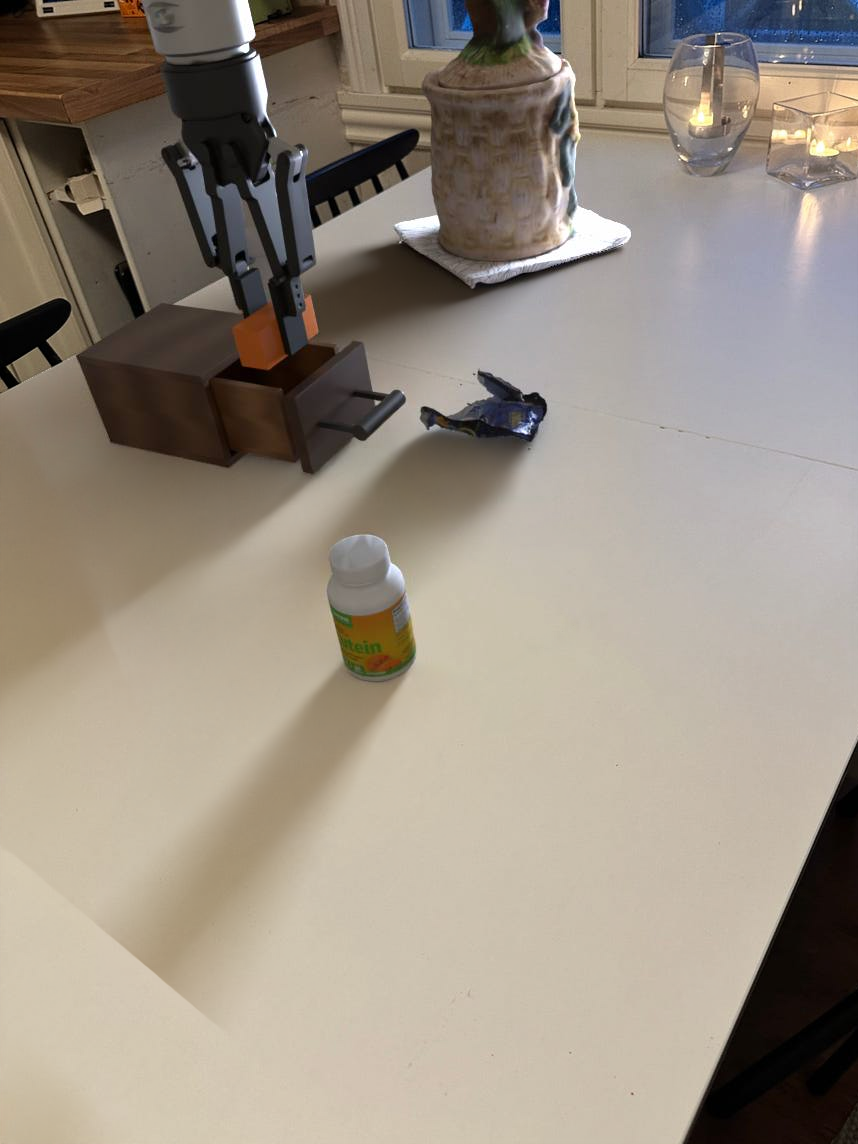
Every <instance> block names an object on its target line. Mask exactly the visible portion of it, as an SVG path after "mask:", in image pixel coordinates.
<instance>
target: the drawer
mask: <svg viewBox="0 0 858 1144" xmlns="http://www.w3.org/2000/svg"><path fill="white" fill-rule="evenodd" d="M308 341H309V343H307V344H306V345H305V346H303V347H302V348H301V349H300V350H298V351H297V352H296V353H294V354H293V355H288V356H287V357H285V358H284V359H283V360H281V361H280V362H279V363H277V364H276V365H275V366H273V367H272V368H271V369H269V370H264V369H258V368H251V367H245V366H242V364H241V360H240V358H239V359H238V360H236V361H235V362H234V363H232V364H231V365H229V366H228V367H227V368H225V369H224V370H222V371H221V372H220V373H218V374H217V375H215V376H214V377H213V378H211V379H210V380H209V381H208V383H209V386H210V389H211V393H212V396H213V399H214V402H215V406H216V409H217V412H218V415H219V419H220V422H221V425H222V428H223V432H224V435H225V438H226V442H227V445H228V448H229V450H233V451H238V452H243V453H246V454H248V455H253V456H258V457H262V458H268V459H272V460H277V461H282V462H288V463H292V464H296V463H297V462H298V461H299V463H300V466H301V471H302V473H304V474H309V475H315V474H316V473H317V472H318V471H319V470H320V469H321V468H322V467H324V465H326V463H328V462H329V461H330V460H331V459H332V458H333V457H334V456H336V454H338V453H339V452H340V451H341V450H342V449H343V448H344V447H345V446H347V444H349V442H351V441H352V439H354V438H355V439H356V440H357V441H360V442H365V441H367V440H368V439H369V438H370V437H371V436H372V435H373V434H374V433H375V432H376V431H378V429H380V427H381V426H383V425H384V424H385V423H386V422H387V421H388V420H389V419H391V417H392V416H393V415H394V414H396V413H397V412H398V411H399V410H400V409H401V407H403V406H404V405H405V404H406V402H407V397H406V395H405V393H404V392H403V391H402V390H400V389H393V390H392V391H391V392H389V393H385V392H379V391H373V384H372V379H371V373H370V368H369V364H368V359H367V353H366V347H365V343H364V341H359V340H352V341H351V342H349V344H347V345H346V346H345V347H344V348H342V349H341V350H340V346H339V344H338V343H333V342H325V341H319V340H318V341H317V340H312V339H309V340H308ZM375 401H378V402H379V403H377V404H376V402H375Z"/></svg>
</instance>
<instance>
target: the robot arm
mask: <svg viewBox="0 0 858 1144" xmlns="http://www.w3.org/2000/svg"><path fill="white" fill-rule="evenodd" d="M140 1H141V4H142V7H143V11H144V15H145V18H146V22H147V26H148V29H149V32H150V35H151V36H150V37H151V40H152V43H153V46H154V50H155V52H156V53H157V54H159V55H161V56H162V57H165V60H163V61H162V62H161V66H160V68H159V71H160V73H161V77H162V81H163V85H164V87H165V92H166V95H167V99H168V103H169V106H170V110H171V112H172V114H173V115H174V116H175V117H177V118H178V119H181V129H180V134H181V138H180V139H178V140H177V141H175V142H173V143H171V144H168V145H167V146H164V147H162V148H161V150H160V155H161V158H162V160H163V161H164V163H165V164H166V166H167V168H168V169H169V171H170V173H171V174H172V176H173V178H174V179H175V183H176V185H177V189H178V191H179V195H180V196H181V200H182V202H183V206H184V208H185V210H186V211H185V212H186V214H187V216H188V219H189V222H190V225H191V228H192V230H193V233H194V236H195V239H196V242H197V245H198V248H199V250H200V252H201V256H202V259H203V261H204V264H205V265H206V266H207V267H208V268H209V269H213V268H217V269H219V270H221V271H222V273H223V274H224V275H225V277H227V278H228V282H229V285H230V288H231V289H230V290H231V292H232V297H233V301H234V303H235V306H236V308H237V309H238V311H242V314H243V316H244V319H246V318H247V317H249V316H250V315H252V314H253V313H255V312H256V311H258V310H259V309H261V308H262V307H264V306H265V305H267V304H268V302H267V298H266V294H265V290H264V286H263V282H262V278H261V274H260V270H259V268H251V269H249V266H250V265H251V264H253V263H254V262H255V258H253V259H252V258H251V257H249V252H248V244H247V237H246V230H245V229H246V223H245V215H244V210H243V202H242V200H243V201H245V203H246V205H247V207H248V209H249V213H250V215H251V218H252V221H253V224H254V226H256V229H257V232H258V235H259V238H260V240H261V243H262V246H263V249H264V251H265V254H266V257H267V260H268V263H269V265H270V268H271V271H272V274H273V277H272V278H270V279H269V282H268V287H269V291H270V296H271V300H272V304H273V308H274V312H275V316H276V320H277V323H278V327H279V331H280V335H281V339H282V343H283V347H284V351H285V354H286V355H293V354H294V353H296V352H297V351H298V350H300V349H301V348H302V347H303V346H305V345H306V344H307V343H309V341H308V337H307V333H306V328H305V324H304V319H303V315H302V313H303V312H304V311H305V309H306V304H305V299H304V295H305V294H304V291H303V285H302V282H301V275H303V274H305V273H306V272H307V271H309V270H311V269H312V268H313V267H315V266H316V265H317V254H316V247H315V241H314V233H313V227H312V226H313V225H312V220H311V213H310V212H311V211H310V204H309V198H308V190H307V182H306V176H305V175H306V169H307V163H308V158H309V157H308V156H309V154H308V153H309V151H308V149H307V147H306V146H305V145H304V143H297V144H295V145H293V146H292V145H291V144H289V143H287V142H286V141H284V140H282V139H281V138H279V137H277V132H276V129H275V127H274V125H273V124H272V123H271V120H270V119H269V117H268V114H267V102H268V97H269V95H268V88H267V84H266V79H265V76H264V71H263V67H262V61H261V57H260V52H259V51H257V50H256V48H255V47H253V46H250V43H251V42H252V41H253V40H254V39H255V37H256V32H255V27H254V23H253V18H252V14H251V10H250V5H249V0H140ZM271 161H272V163H271ZM303 294H304V295H303Z"/></svg>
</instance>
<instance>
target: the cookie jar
mask: <svg viewBox="0 0 858 1144" xmlns="http://www.w3.org/2000/svg"><path fill="white" fill-rule="evenodd" d="M549 3H550V0H465V1H464V3H463V6H464V8H465V10H466V12H467V14H468V19H469V21H470V25H471V29H472V37H471V39H470V40H469V41H468V42H467V43H466V44H465V46H464V47H463V48H462V50H461V51H460V52H459V53H458V55H457V56H456V57H455V58H452V59H451V60H450V61H449V62H448V63H447V64H444V65H443V66H441V67H438V68H435V69H433V70H431V71H428V72H427V73H426V74H425V76H424V77H423V80H422V81H421V90H422V93H423V95H424V97H425V98H426V99H427V101H428V103H429V107H430V122H431V125H430V128H431V129H430V138H429V139H430V149H429V150H430V151H429V153H430V154H429V155H430V157H429V158H430V169H431V179H430V182H431V183H430V184H431V193H432V194H431V195H432V199H433V204H434V207H435V210H436V215H432V216H427V217H420V218H417V219H411V220H408V221H407V220H406V221H405V220H404V221H400V222H398V223H395V224H393V230H394V231H395V233H396V234H397V236H398V237H399V242H400V241H401V239H402V240H403V241H404V242H403V243H406V245H408V246H410V247H411V248H413V249H414V250H415V251H417V252H418V253H419V254H422V255H424V256H425V257H427V258H428V259H430V260H432V261H434V262H435V263H437V264H438V265H440V266H441V267H442V268H444V269H445V270H447V271H449V272H450V273H452V274H453V275H455V276H456V277H457V278H459V279H460V280H462V281H463V282H464V283H465V284H466V285H467V284H468V285H469V286H471V287H473V288H472V289H475V288H476V284H477V283H484V284H497V283H501V282H504V281H507V280H509V279H511V278H513V277H515V276H518V275H520V274H523V273H533V272H538V271H542V270H545V269H548V268H552V267H554V265H555V266H558V265H561V263H562V264H564V262H565V263H568V262H571V261H575V260H578V259H581V258H584V257H583V256H585V257H587V256H586V255H588V256H590V255H589V254H592V255H594V254H593V253H596V254H599V253H602V252H601V251H603V252H606V251H605V250H607V251H609V250H608V249H610V248H613V247H615V246H618V245H621V244H623V245H625V244H626V243H627V242H629V240H630V238H631V230H630V229H629V228H627V226H626V225H624V224H621V223H620V222H614V221H612V220H611V219H606V218H604V217H602V216H599V214H598V213H595V212H593V211H592V210H587V209H585V208H583V207H580V206H579V203H578V198H577V194H576V188H575V183H574V181H575V177H576V158H577V145H578V142H579V141H580V139H581V133H580V131H579V125H580V122H579V115H578V114H579V112H578V110H577V109H576V103H575V84H576V75H575V73H574V72H573V69H572V66H571V65H570V62H569V61H567V60H566V59H565V58H560V57H559V56H558V55H556V54H555V53H554V52H553V51H551V50H550V49H549V48H548V47H546V46H545V45H544V39H543V35H542V33H540V31H539V30H538V29H537V27H538V25H539V24H540V23H542V22H544V21H545V20H547V19H548V10H549V5H550V4H549ZM624 243H625V244H624ZM621 246H622V245H621ZM610 250H611V249H610ZM598 252H599V253H598ZM580 257H581V258H580ZM577 258H578V259H577ZM574 259H575V260H574ZM570 260H571V261H570ZM557 264H558V265H557ZM551 266H552V267H551ZM468 285H467V286H468ZM469 286H468V287H469ZM471 287H470V288H471Z"/></svg>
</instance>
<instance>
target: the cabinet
mask: <svg viewBox="0 0 858 1144" xmlns="http://www.w3.org/2000/svg"><path fill="white" fill-rule="evenodd" d="M243 320H244V316H243V313H239V312H233V311H224V310H217V309H210V308H203V307H196V306H190V305H189V306H187V305H180V304H174V303H173V304H172V303H165V302H161V303H159V304H157V305H156V306H155V307H153V308H151V309H150V310H147V311H146V312H145V313H143V314H141V315H139V316H138V317H136V318H135V319H133V320H131V321H130V322H128V323H126V324H125V325H123V326H122V327H121V326H120V328H118V329H116V330H115V331H113V332H111V333H110V334H108V335H107V336H105V337H104V338H101V339H100V340H98V341H97V342H95V343H94V344H92V345H90V346H88V347H87V348H85V349H84V350H82V351H81V352H79V353H77V354H76V355H75V357H76V358H75V359H76V361H77V362H78V364H79V367H80V369H81V370H80V371H81V372H82V375H83V378H84V379H85V382H86V384H87V387H88V390H89V392H90V395H91V398H92V401H93V402H94V404H95V407H96V410H97V413H98V415H99V417H100V421H101V423H102V425H103V428H104V431H105V433H106V435H107V438H108V439H109V440H108V441H109V442H110V443H111V444H114V445H120V446H125V447H129V448H133V449H138V450H142V451H143V450H144V451H147V452H152V453H156V454H161V455H165V456H166V455H167V456H171V457H175V458H181V459H185V460H189V461H193V462H199V463H204V464H207V465H211V466H212V465H213V466H218V467H222V468H226V469H230V468H231V467H232V466H233V465H235V464H236V463H237V462H238V461H239V460H241V459H242V458H243V457H244V456H245V455H247V453H243V452H238V451H233V450H229V448H228V445H227V442H226V438H225V435H224V432H223V428H222V425H221V422H220V419H219V415H218V412H217V409H216V406H215V402H214V399H213V396H212V393H211V389H210V386H209V383H208V381H209V380H210V379H211V378H213V377H214V376H215V375H217V374H218V373H220V372H221V371H222V370H224V369H225V368H227V367H228V366H229V365H231V364H232V363H234V362H235V361H236V360H238V359H239V358H240V357H239V353H238V349H237V346H236V342H235V339H234V335H233V332H232V328H233V327H234V326H236V325H237V324H238V323H240V322H241V321H243Z"/></svg>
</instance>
